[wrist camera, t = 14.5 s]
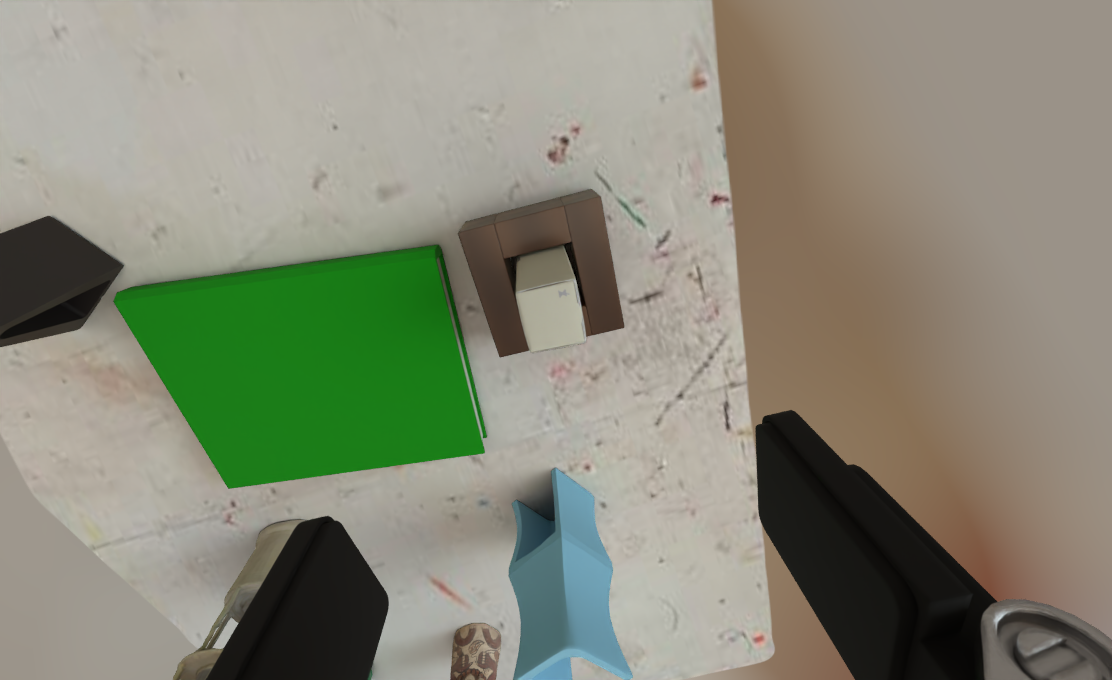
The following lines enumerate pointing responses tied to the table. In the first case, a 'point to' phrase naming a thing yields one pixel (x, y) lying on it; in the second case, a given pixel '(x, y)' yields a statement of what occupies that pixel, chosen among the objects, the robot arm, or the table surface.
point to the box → (549, 300)
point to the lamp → (238, 598)
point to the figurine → (475, 653)
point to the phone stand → (49, 280)
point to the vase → (563, 588)
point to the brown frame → (532, 231)
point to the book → (314, 364)
